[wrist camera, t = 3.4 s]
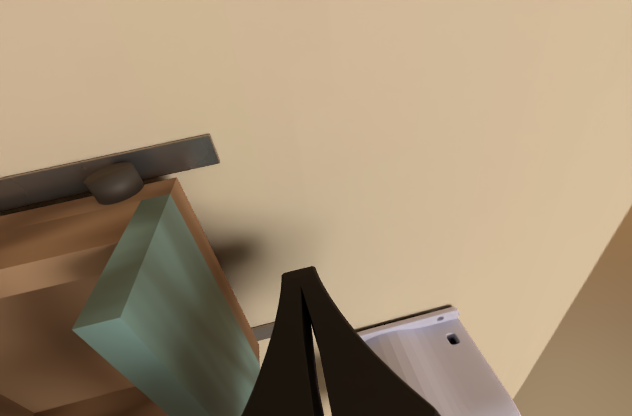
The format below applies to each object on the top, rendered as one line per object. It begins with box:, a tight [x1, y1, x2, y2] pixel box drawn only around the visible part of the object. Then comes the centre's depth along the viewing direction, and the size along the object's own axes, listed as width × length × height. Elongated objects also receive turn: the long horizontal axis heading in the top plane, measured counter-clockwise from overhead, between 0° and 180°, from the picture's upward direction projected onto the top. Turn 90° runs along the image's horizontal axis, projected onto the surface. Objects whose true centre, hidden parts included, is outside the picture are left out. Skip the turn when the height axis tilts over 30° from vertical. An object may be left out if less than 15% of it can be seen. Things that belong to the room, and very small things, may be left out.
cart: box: [0, 162, 260, 416], centre depth 12 cm, size 13×14×7 cm
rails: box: [0, 134, 275, 341], centre depth 15 cm, size 22×14×1 cm, turn 98°
